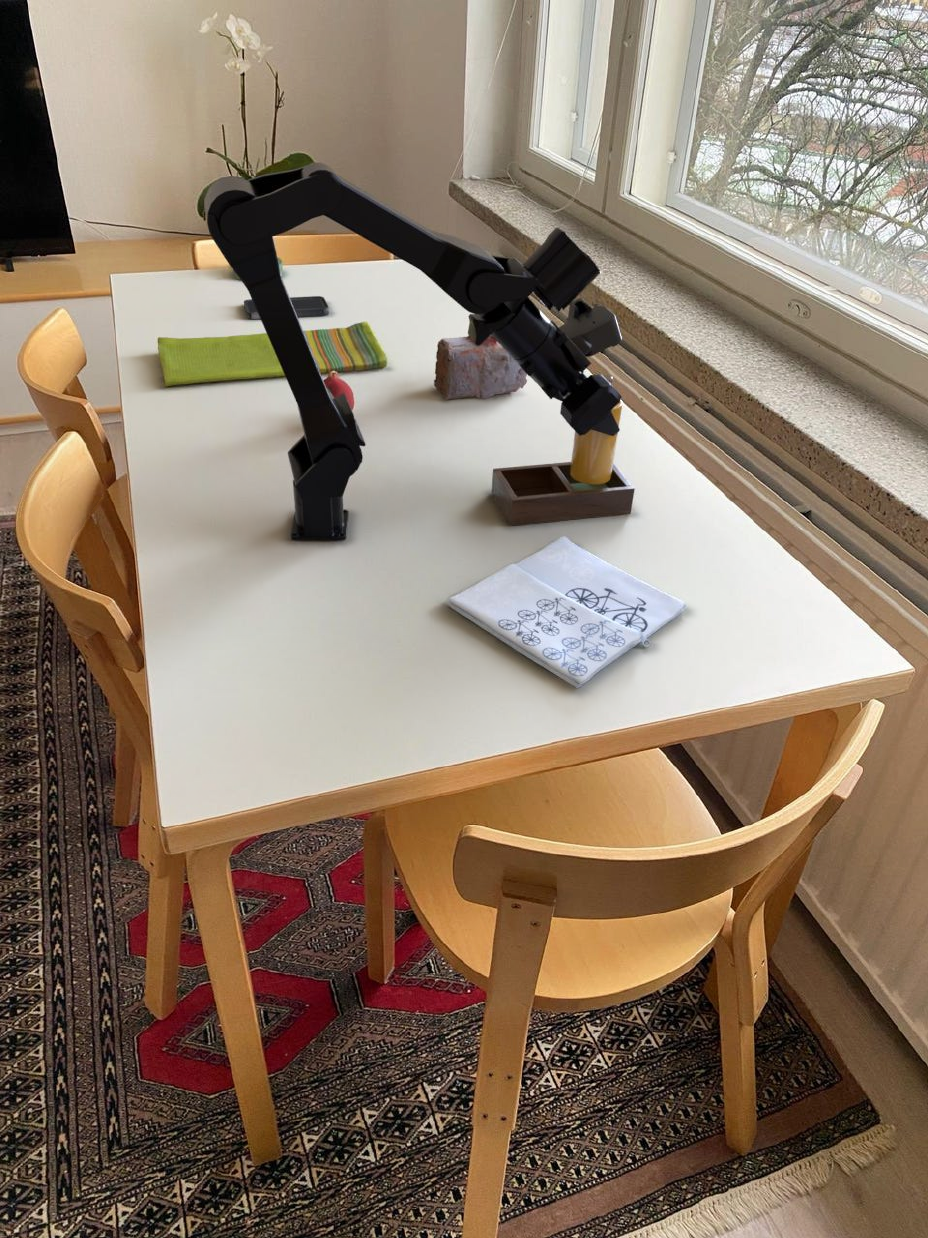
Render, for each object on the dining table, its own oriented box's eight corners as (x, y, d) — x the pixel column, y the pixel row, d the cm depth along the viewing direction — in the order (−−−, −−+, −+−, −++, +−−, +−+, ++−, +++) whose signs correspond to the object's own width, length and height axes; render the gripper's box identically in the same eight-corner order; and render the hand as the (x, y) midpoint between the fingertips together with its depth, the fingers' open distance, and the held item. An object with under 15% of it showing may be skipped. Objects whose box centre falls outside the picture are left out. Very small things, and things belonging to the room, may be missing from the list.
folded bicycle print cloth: (441, 608, 100) (442, 591, 98) (564, 542, 111) (565, 527, 110) (578, 696, 89) (580, 678, 88) (697, 613, 101) (701, 597, 99)
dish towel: (390, 369, 153) (390, 350, 151) (165, 389, 142) (162, 369, 141) (368, 337, 164) (367, 319, 162) (158, 353, 154) (155, 334, 152)
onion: (347, 435, 132) (345, 381, 127) (309, 430, 133) (305, 377, 128) (359, 418, 136) (358, 366, 132) (322, 414, 137) (319, 361, 132)
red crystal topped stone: (509, 377, 152) (514, 317, 146) (529, 396, 146) (534, 334, 140) (430, 385, 148) (432, 324, 142) (448, 405, 142) (450, 342, 136)
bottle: (608, 487, 115) (623, 387, 107) (566, 480, 116) (579, 381, 108) (613, 469, 119) (628, 371, 111) (573, 462, 120) (585, 365, 112)
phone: (329, 308, 172) (247, 313, 168) (329, 315, 172) (247, 319, 169) (322, 295, 178) (243, 299, 174) (323, 301, 178) (243, 305, 175)
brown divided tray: (491, 493, 120) (492, 468, 118) (605, 482, 124) (609, 458, 122) (510, 526, 114) (512, 500, 112) (630, 513, 118) (634, 488, 115)
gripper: (616, 313, 95) (693, 407, 104) (556, 261, 110) (628, 348, 119) (536, 391, 98) (618, 476, 107) (488, 330, 113) (563, 409, 122)
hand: (607, 423), depth 114 cm, fingers closed on bottle, 5 cm apart
